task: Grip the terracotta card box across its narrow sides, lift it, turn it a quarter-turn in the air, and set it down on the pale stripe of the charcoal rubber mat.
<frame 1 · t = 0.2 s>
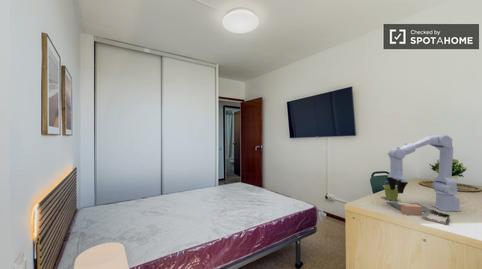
hand: (396, 191, 121), 10 cm above the table, tool pointing down, fingers open, 7 cm apart
terracotta card box: (411, 214, 112), on the table
plant pot: (391, 199, 136), on the table
charcoal mat: (409, 207, 122), on the table
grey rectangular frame: (437, 219, 105), on the table
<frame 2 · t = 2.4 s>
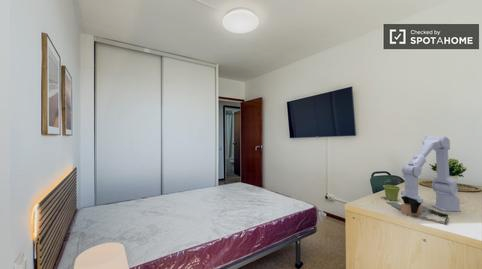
hand: (411, 211, 112), 1 cm above the table, tool pointing down, fingers closed on terracotta card box, 4 cm apart
terracotta card box: (411, 213, 112), on the table, touching gripper
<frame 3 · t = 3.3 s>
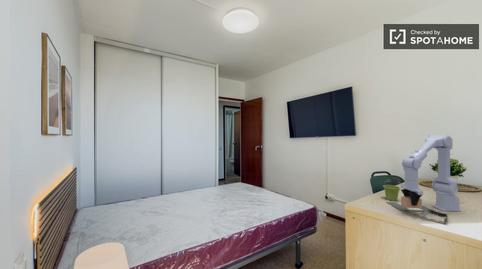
hand: (411, 204, 112), 5 cm above the table, tool pointing down, fingers closed on terracotta card box, 4 cm apart
terracotta card box: (411, 206, 112), point 4 cm above the table, touching gripper
everything else where it was.
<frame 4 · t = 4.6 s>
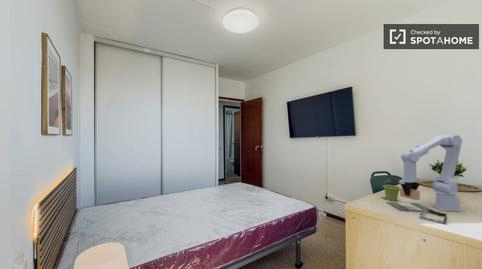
hand: (410, 195, 119), 8 cm above the table, tool pointing down, fingers closed on terracotta card box, 4 cm apart
terracotta card box: (409, 197, 119), point 7 cm above the table, touching gripper
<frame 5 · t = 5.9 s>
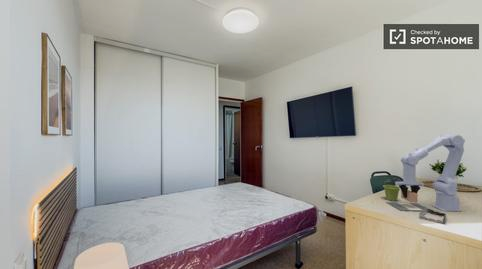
hand: (409, 197, 122), 6 cm above the table, tool pointing down, fingers closed on terracotta card box, 4 cm apart
terracotta card box: (409, 200, 122), point 4 cm above the table, touching gripper
when the fingers open (4 cm above the table, at t = 6.8 s): terracotta card box drops 1 cm, resting on charcoal mat.
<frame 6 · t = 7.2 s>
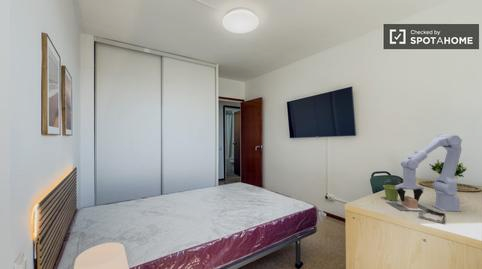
hand: (409, 201, 122), 4 cm above the table, tool pointing down, fingers open, 7 cm apart
terracotta card box: (409, 206, 122), point 1 cm above the table, touching charcoal mat
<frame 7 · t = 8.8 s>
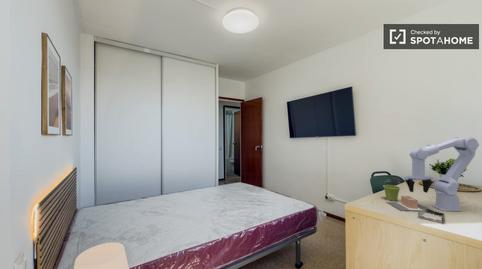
hand: (418, 192, 121), 9 cm above the table, tool pointing down, fingers open, 7 cm apart
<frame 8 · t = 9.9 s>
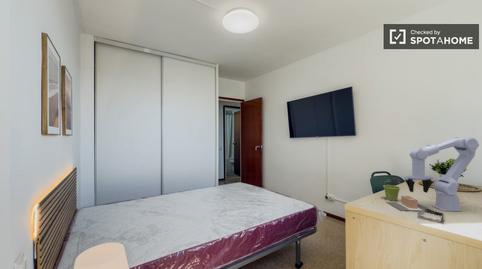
hand: (418, 192, 121), 9 cm above the table, tool pointing down, fingers open, 7 cm apart
at the end: terracotta card box inside the target area on the charcoal mat (0.1 cm from its centre), point 0.6 cm above the charcoal mat's base; terracotta card box tilted 0°; the gripper is holding nothing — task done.
